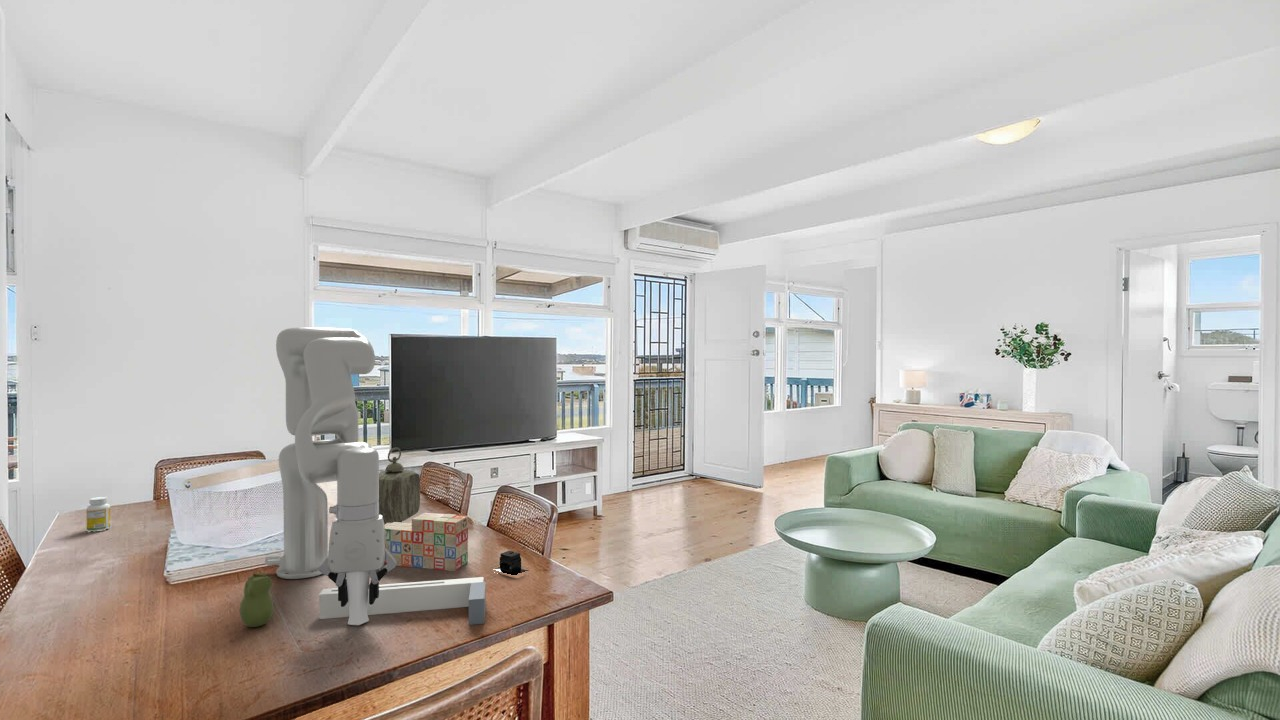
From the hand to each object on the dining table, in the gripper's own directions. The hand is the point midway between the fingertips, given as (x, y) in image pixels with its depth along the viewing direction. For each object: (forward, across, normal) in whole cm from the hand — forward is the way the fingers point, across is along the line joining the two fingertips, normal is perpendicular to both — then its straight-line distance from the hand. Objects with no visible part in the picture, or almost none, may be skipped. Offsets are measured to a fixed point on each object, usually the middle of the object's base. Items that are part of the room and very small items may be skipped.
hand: (358, 602), depth 122 cm
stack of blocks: (+5, +8, +34) cm, 35 cm away
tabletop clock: (+5, -4, +64) cm, 65 cm away
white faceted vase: (+4, 0, 0) cm, 4 cm away
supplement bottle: (+5, -91, +84) cm, 124 cm away
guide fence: (+4, +8, +1) cm, 9 cm away
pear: (+5, -19, +3) cm, 20 cm away
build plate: (+5, +30, +24) cm, 38 cm away
